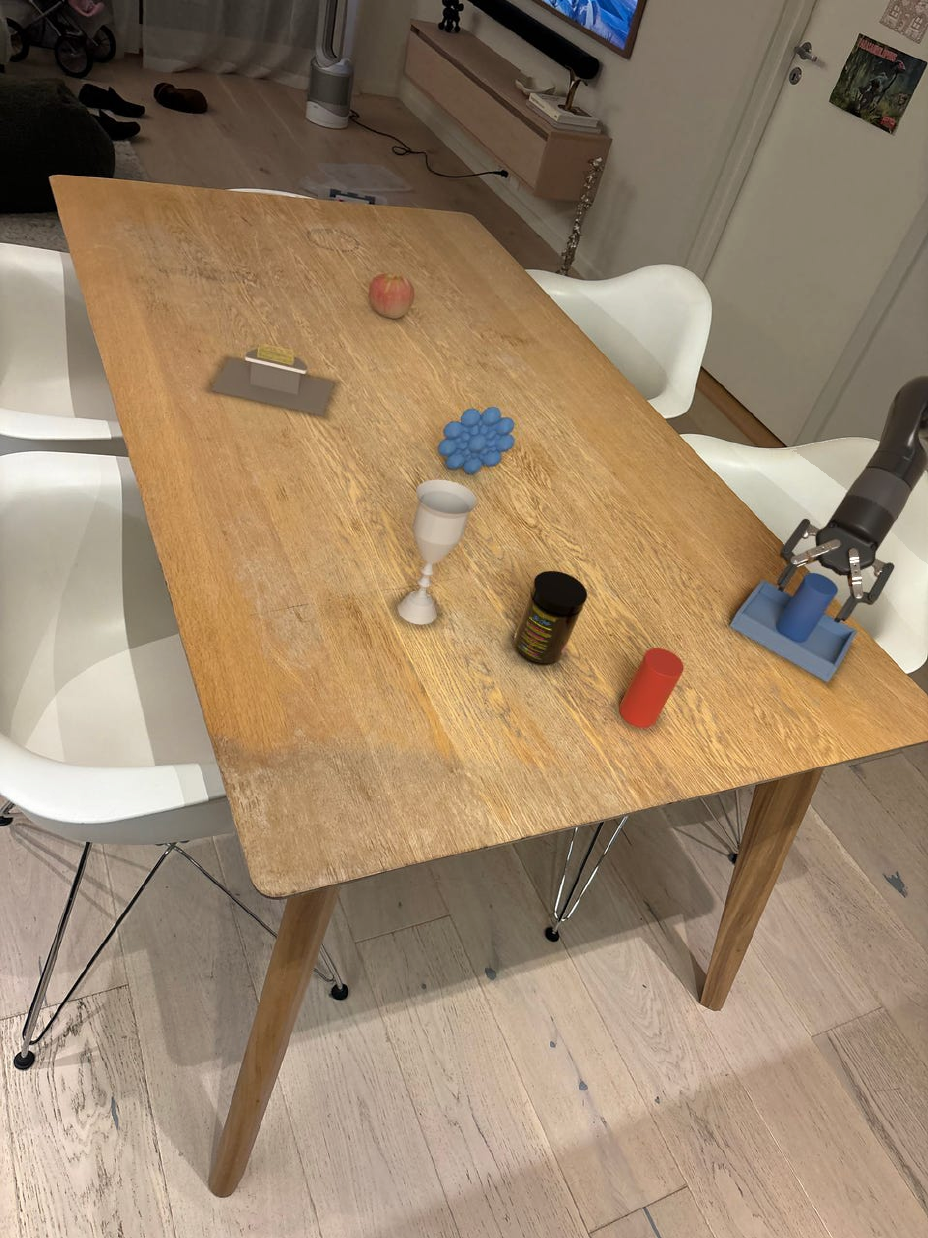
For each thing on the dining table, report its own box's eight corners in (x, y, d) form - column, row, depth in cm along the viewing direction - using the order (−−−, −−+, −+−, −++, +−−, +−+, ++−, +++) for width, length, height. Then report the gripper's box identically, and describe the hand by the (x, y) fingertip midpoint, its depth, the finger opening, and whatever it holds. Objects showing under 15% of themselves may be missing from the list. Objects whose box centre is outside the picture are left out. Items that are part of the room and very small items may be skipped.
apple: (397, 328, 180) (405, 289, 174) (357, 312, 181) (364, 273, 176) (416, 316, 186) (424, 277, 181) (378, 300, 188) (384, 261, 182)
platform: (229, 358, 156) (232, 321, 152) (334, 382, 158) (339, 347, 154) (211, 390, 147) (213, 352, 142) (322, 416, 149) (327, 379, 144)
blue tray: (848, 645, 134) (857, 631, 132) (827, 682, 126) (837, 668, 125) (754, 592, 139) (762, 578, 137) (729, 626, 131) (737, 611, 129)
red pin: (662, 713, 114) (690, 662, 108) (646, 734, 111) (674, 682, 105) (629, 693, 115) (654, 641, 110) (612, 712, 112) (638, 660, 106)
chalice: (397, 630, 114) (425, 514, 103) (383, 594, 119) (409, 479, 107) (451, 627, 117) (485, 513, 105) (436, 592, 122) (466, 479, 110)
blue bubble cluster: (500, 463, 150) (519, 398, 143) (505, 486, 145) (525, 420, 138) (430, 453, 148) (446, 386, 140) (433, 476, 143) (450, 408, 135)
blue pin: (811, 632, 133) (842, 585, 127) (802, 647, 130) (832, 600, 124) (781, 615, 135) (810, 568, 129) (771, 630, 131) (800, 582, 125)
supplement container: (559, 675, 115) (584, 613, 108) (507, 659, 115) (530, 596, 108) (564, 641, 120) (589, 580, 114) (515, 626, 120) (537, 564, 114)
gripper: (826, 475, 127) (764, 573, 126) (925, 524, 122) (861, 626, 122) (819, 493, 134) (760, 586, 133) (912, 540, 129) (851, 637, 129)
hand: (808, 605), depth 127 cm, fingers open, 8 cm apart
